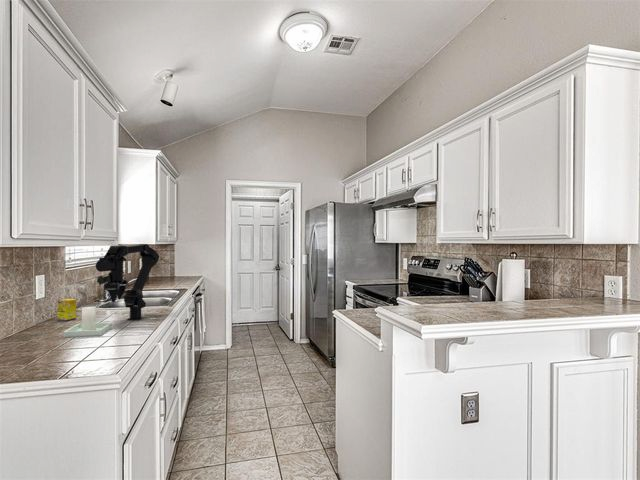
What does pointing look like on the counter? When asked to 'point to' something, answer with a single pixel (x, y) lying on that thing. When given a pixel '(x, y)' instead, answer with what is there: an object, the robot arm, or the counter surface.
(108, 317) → the counter surface
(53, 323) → the counter surface
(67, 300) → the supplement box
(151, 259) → the robot arm
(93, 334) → the tray
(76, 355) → the counter surface
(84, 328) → the canister
